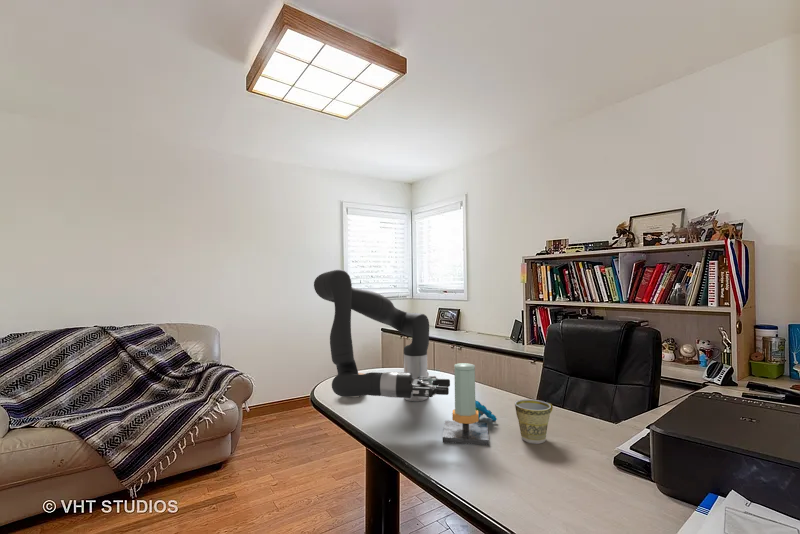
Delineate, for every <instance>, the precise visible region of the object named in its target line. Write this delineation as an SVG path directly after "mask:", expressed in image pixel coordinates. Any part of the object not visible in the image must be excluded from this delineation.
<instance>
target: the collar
mask: <svg viewBox="0 0 800 534" xmlns="http://www.w3.org/2000/svg"><path fill="white" fill-rule="evenodd" d="M451 415H452V421H456V422H458V423H464V424H472V423H475V422H477V423H480V422H479V419H480V418H479V415H478V410H476V414H475V415H471V416H461V415H458V414H456V413H455V408H454V409H453V410H452V413H451Z"/></svg>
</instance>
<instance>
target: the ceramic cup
mask: <svg viewBox="0 0 800 534" xmlns="http://www.w3.org/2000/svg"><path fill="white" fill-rule="evenodd" d="M553 407H554V406H553V404H552V403H550V402H547V401H546V402H545V401H544V400H538V399H532V398H531V399H529V398H526V399H525V398H524V399H519V400H516V401H515V402H514V408H515V412H516V417H517V421H518V425H519V430H520V437H521V440H522V441H524V442H526V443H527V444H534V445H535V444H537V445H539V444H542V443H545V442H546V439H547V431H548V425H549V420H550V417H551V416H550V415H551V413H552V412H553Z"/></svg>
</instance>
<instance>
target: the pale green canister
mask: <svg viewBox="0 0 800 534" xmlns="http://www.w3.org/2000/svg"><path fill="white" fill-rule="evenodd" d="M475 400H476V365H475V364H472V363H467V362H466V363H465V362H464V363H463V362H461V363H455V364H454V409H455V413H456V414H458V415H461V416H471V415H475V414H476V409H475Z"/></svg>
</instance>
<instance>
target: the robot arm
mask: <svg viewBox="0 0 800 534" xmlns="http://www.w3.org/2000/svg"><path fill="white" fill-rule="evenodd" d="M313 289H314V292H315V293H316V294H317V296H319V297H320V298H321V299H323V300H324V301H328V302H331V303H334V317H333V322H332V326H331V329H330V333H329V346H330V355H331V360H332V363H333V364H334V365H335V366H336V370H337V375H335V377H334V378H333V379H332V381H331V388H332V389H331V390H332V391H333V392H334V394H335V395H337V396H338V397H343V398H355V397H354V396H360V397H362V396H372V397H374V396H375V397H385V398H397V399H398V398H399V399H404V400H405V401H409V402H422V401H426V400H428V398H432V397H433V396H436V395H438V396H439V395H441V396H443V395H444V396H448V395H449V391H450V390H449V389H450V388H449V387H450V386H451V380H450V379H449V378H438V377H437V376H436V375H434V376H433V375H432V376H431V375H429V372H428V348H429V344H430V321H429V318H428V316H427V315H426V314H424V313H421V312H420V313H418V312H417V313H416V312H407V311H404V310H401V309H399V308H397V307H395V305H394V303H393V302H392V301H391V300H390V299H389V298H388V297H385V295H381V294H380V293H378V292H375V291H373V290H367V289H362V288H358V287H353V286H352V279H351V276H350V275H349V274H348V272H347V271H345V270H344V269H334V270H330V271H326V272H323V273H321V274H319V275H317V277H316V278H314V282H313ZM352 311H354V312H357V313H359V314H361V315H362V316H365V317H367V318H368V319H371V320H373V321H376V322H378V323H381V324H384V325H387V326H389V327H391V328H393V329H395V330H396V331H398V332H399V333H400V334H402V335H404V336H407V337H411V343H410V344H407V345H405V346H404V347H403V372H402V371H401V372H400V371H399V372H397V371H396V372H395V371H388V372H373V371H372V372H366V373H364V374H358V373H359V370H358V366H357V364H356V360H355V357H354V348H353V345H354V344H353V339H352V323H351V321H352Z"/></svg>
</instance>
